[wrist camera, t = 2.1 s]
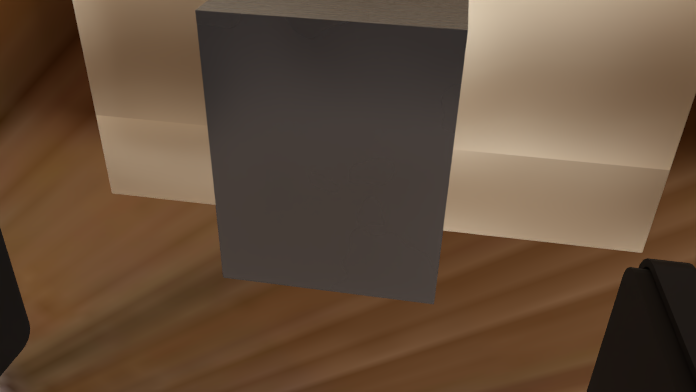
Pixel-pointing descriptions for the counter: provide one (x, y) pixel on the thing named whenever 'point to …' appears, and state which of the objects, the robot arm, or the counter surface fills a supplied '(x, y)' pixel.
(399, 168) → the plug
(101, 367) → the counter surface
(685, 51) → the socket board
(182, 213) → the counter surface
